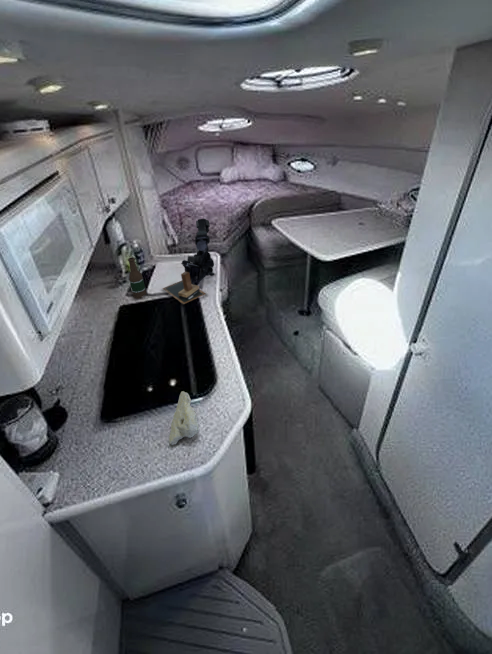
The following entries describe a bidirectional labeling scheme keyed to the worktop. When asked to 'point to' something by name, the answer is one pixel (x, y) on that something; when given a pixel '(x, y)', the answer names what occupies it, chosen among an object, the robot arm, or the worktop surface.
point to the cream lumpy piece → (183, 420)
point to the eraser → (187, 286)
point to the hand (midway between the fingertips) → (192, 280)
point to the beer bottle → (136, 280)
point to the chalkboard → (178, 287)
